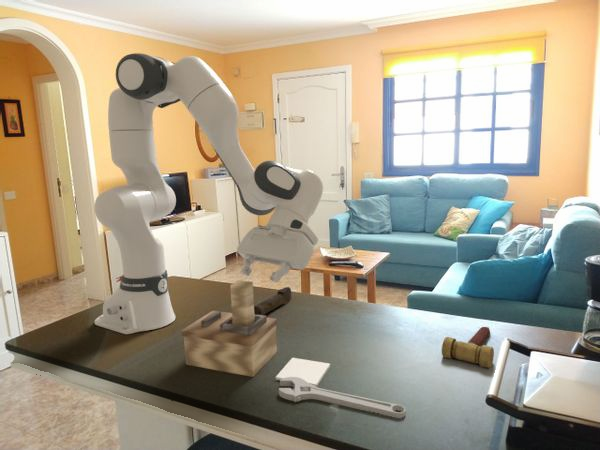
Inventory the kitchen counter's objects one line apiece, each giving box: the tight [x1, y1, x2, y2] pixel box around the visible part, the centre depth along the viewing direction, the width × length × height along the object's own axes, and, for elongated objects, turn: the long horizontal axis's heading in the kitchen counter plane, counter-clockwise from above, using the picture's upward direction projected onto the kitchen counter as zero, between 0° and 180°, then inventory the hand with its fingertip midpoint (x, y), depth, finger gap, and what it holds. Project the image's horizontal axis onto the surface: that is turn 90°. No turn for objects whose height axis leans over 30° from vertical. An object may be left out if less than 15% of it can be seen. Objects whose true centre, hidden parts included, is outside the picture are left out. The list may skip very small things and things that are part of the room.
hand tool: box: [254, 286, 293, 316], centre depth 132 cm, size 19×4×5 cm, turn 146°
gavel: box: [441, 326, 495, 369], centre depth 104 cm, size 21×5×10 cm
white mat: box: [275, 357, 331, 387], centre depth 94 cm, size 9×9×1 cm
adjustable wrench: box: [278, 377, 406, 419], centre depth 83 cm, size 25×6×2 cm, turn 61°
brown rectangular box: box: [180, 310, 278, 377], centre depth 101 cm, size 18×13×10 cm
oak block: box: [229, 280, 255, 327], centre depth 98 cm, size 4×4×10 cm
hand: (258, 277), depth 102 cm, fingers open, 8 cm apart
